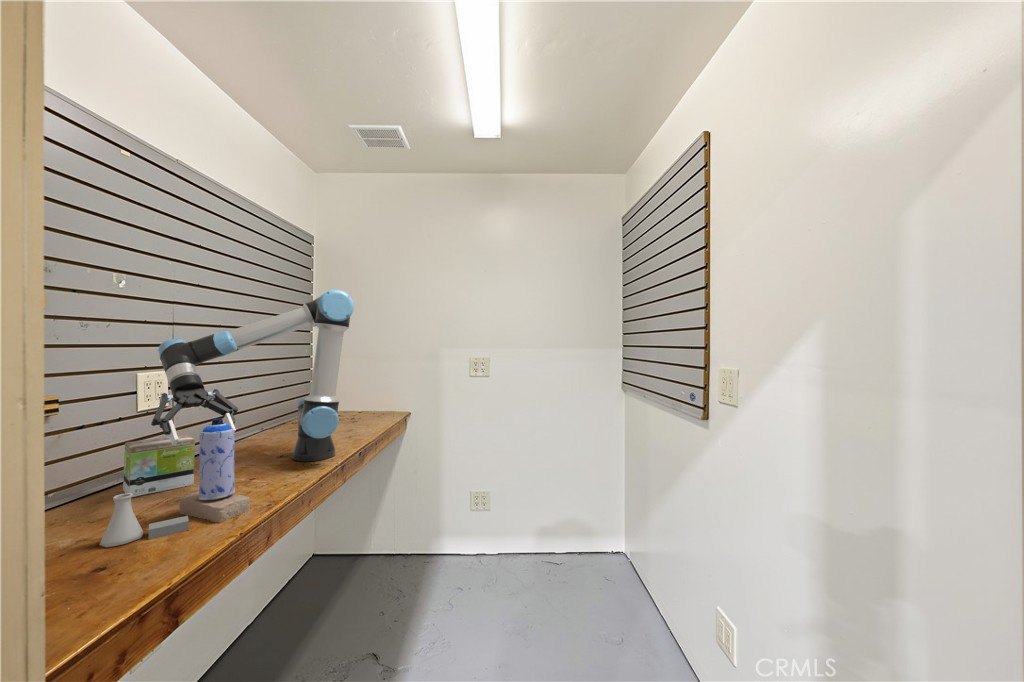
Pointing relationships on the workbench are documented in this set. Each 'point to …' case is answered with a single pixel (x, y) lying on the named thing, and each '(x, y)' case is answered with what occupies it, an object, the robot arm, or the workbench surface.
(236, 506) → the brick
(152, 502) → the workbench surface
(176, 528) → the block
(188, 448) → the tea box
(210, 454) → the aerosol can
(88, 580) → the workbench surface
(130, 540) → the flask
